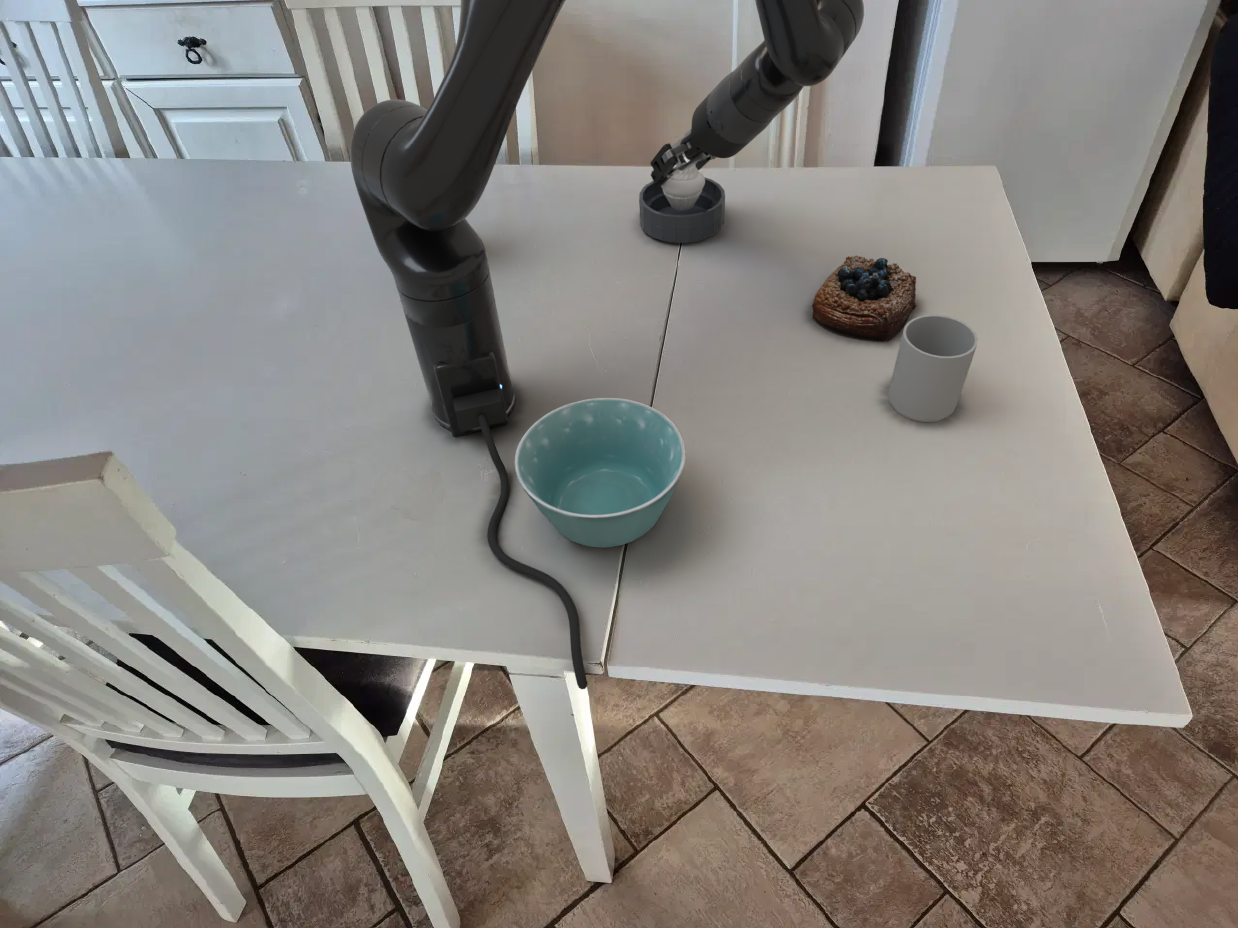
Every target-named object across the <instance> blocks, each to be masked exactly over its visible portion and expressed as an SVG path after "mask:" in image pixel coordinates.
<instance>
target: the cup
mask: <svg viewBox="0 0 1238 928" xmlns="http://www.w3.org/2000/svg"><path fill="white" fill-rule="evenodd" d="M978 339H979V338H978V337H977V333H976V332H975V330H973V328H972V327H971V326H970V325H968V324H967V323H965V322H963V321H961V320H959V319H957V318H955V317H951V316H949V315H948V316H947V315H942V314H926V315H925V314H924V315H920V316H916V317H913V318H912V319H910V320H909V321H907V322H906V324H905V326H904V327H903V329H902V335H901V338H900V342H899V347H898V350H897V351H898V352H897V355H896V360H895V362H894V367H893V371H892V375H891V379H890V384H889V388H888V393H887V397H888V401H889V403H890V404H891V407H892V408H893V409H894V410H895V411H896V412H897V413H898V414H899V415H901V416H903V417H904V418H906V419H909V420H911V421H915V422H921V423H933V422H939V421H941V420H944V419H946V418H947V417H949V416H950V415H952V414H953V413H954V411H955V410H956V408H957V405H958V403H959V400H960V397H961V394H962V392H963V388H964V385H965V382H966V379H967V377H968V373H969V371H970V368H971V364H972V362H973V358H974V355H975V352H976V349H977V347H978V341H979V340H978Z"/></svg>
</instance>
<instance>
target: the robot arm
mask: <svg viewBox="0 0 1238 928" xmlns="http://www.w3.org/2000/svg"><path fill="white" fill-rule="evenodd" d="M566 1H567V0H460V10H459V11H460V14H459V25H458V26H459V27H458V33H457V38H456V39H457V40H456V44H455V47H454V51H453V53H452V57H451V60H450V62H449V64H448V67H447V70H446V71H445V74H444V76H443V78H442V80H441V82H440V85H439V87H438V89H437V90H436V93H435V94H434V96H433V99H432V101H431V102H430V104H429V106H428V107H427V109H425V108H426V107H423V106H422V105H420V104H417V103H414V102H412V101H408V100H404V99H395V98H393V99H386V100H383V101H380V102H378V103H375V104H374V105H372V106H370V107H369V108H368V109H367V110H366V111H364V112H363V114H362V115H361V116H360V117H359V119H358V120H357V123H356V124H355V127H354V129H353V131H352V135H351V139H350V145H349V150H350V151H349V159H350V166H351V174H352V178H353V181H354V185H355V187H356V191H357V194H358V197H359V201H360V203H361V206H362V209H363V211H364V215H365V218H366V220H367V223H368V226H369V229H370V232H371V234H372V237H373V238H372V239H373V241H374V243H375V246H376V249H377V250H378V253H379V254H380V256H381V258H382V259H383V261H384V263H385V264H386V265H387V267H388V269H389V270H390V273H391V274H392V277H393V280H394V284H395V286H396V289H397V293H398V296H399V300H400V303H401V306H402V310H403V313H404V317H405V321H406V323H407V328H408V331H409V334H410V338H411V341H412V345H413V347H414V351H415V354H416V358H417V360H418V364H419V367H420V368H419V369H420V371H421V375H422V378H423V381H424V385H425V387H426V388H425V389H426V391H427V395H428V398H429V401H430V404H431V405H430V406H431V411H432V414H433V417H434V419H435V421H436V422H437V423H438V424H439V425H440V426H442V427H443V428H445V429H447V430H450V431H451V435H452V436H453V437H457V436H463V435H467V434H473V433H475V432H480V431H481V433H482V436H483V438H484V441H485V444H486V447H487V449H488V452H489V454H490V458H491V461H492V462H493V465H494V466H495V468H496V471H497V474H498V476H499V480H500V492H499V493H500V494H499V498H498V501H497V503H496V506H495V508H494V511H493V512H492V515H491V517H490V520H489V523H488V526H487V531H486V532H487V533H486V536H487V543H488V546H489V548H490V550H491V552H492V554H493V555H494V556H495V557H496V559H497V560H498V561H499V562H501V563H502V564H503V565H504V566H506V567H508V568H509V569H511V570H514V571H515V572H518V573H520V574H523V575H524V576H527V577H529V578H532V579H534V580H536V581H539V582H541V583H542V584H544V585H546V586H547V587H549V588H550V589H551V590H553V592H555V593H556V594H557V596H558V597H559V599H560V600H561V602H562V604H563V606H564V608H565V611H566V613H567V617H568V622H569V623H568V624H569V625H568V626H569V639H570V641H569V642H570V653H571V661H572V667H573V672H574V678H575V681H576V685H577V687H578V688H579V689H580V690H585V689H587V688H588V684H589V682H588V679H587V675H586V671H585V665H584V660H583V653H582V641H581V627H580V619H579V614H578V610H577V607H576V605H575V601H574V600H573V598H572V597H571V595H570V594H569V592H568V591H567V590H566V588H565V587H564V586H563V585H562V584H561V583H560V582H559V581H558V580H557V579H555V578H554V577H552V576H551V575H550V574H547V573H545V572H544V571H542V570H539V569H538V568H537V569H536V568H534V567H532V566H529V565H527V564H525V563H522V562H520V561H518V560H515V559H514V558H512V557H510V556H509V555H508V554H506V553H505V551H504V550H502V548H501V546H500V544H499V542H498V539H497V529H498V526H499V523H500V520H501V518H502V515H503V514H504V511H505V509H506V505H507V503H508V499H509V494H510V481H509V480H510V479H509V475H508V471H507V469H506V466H505V464H504V462H503V460H502V458H501V455H500V453H499V450H498V448H497V445H496V442H495V439H494V437H493V434H492V431H491V429H493V428H497V427H501V426H505V425H508V423H509V420H508V417H509V415H511V413H512V411H513V410H514V409H515V408H514V407H515V405H516V393H515V389H514V387H513V384H512V383H513V382H512V378H511V373H510V368H509V363H508V359H507V354H506V349H505V348H506V347H505V342H504V338H503V332H502V327H501V323H500V317H499V311H498V307H497V303H496V302H497V301H496V297H495V291H494V286H493V281H492V276H491V270H490V265H489V260H488V255H487V250H486V247H485V245H484V242H483V240H482V239H481V237H480V236H479V234H478V233H477V232H476V231H475V229H474V228H473V227H472V225H471V224H470V223H469V221H468V220H467V219H466V218H468V216H469V215H470V214H471V212H472V211H473V210H474V209H475V208H476V206H477V205H478V203H479V201H480V200H481V198H482V196H483V194H484V192H485V190H486V187H487V185H488V183H489V180H490V179H491V178H490V177H491V175H492V173H493V170H494V168H495V165H496V162H497V159H498V158H499V157H498V156H499V154H500V152H501V149H502V146H503V144H504V141H505V138H506V135H507V133H508V130H509V127H510V124H511V122H512V120H513V117H514V115H515V111H516V108H517V106H518V103H519V101H520V98H521V97H522V94H523V91H524V89H525V87H526V85H527V82H528V80H529V78H530V76H531V73H532V71H533V70H534V67H535V65H536V63H537V61H538V58H539V57H540V55H541V52H542V50H543V48H544V46H545V43H546V41H547V39H548V37H549V35H550V33H551V31H552V28H553V26H554V24H555V22H556V20H557V17H558V16H559V13H560V11H561V10H562V8H563V6H564V4H565V2H566ZM754 1H755V5H756V10H757V15H758V19H759V23H760V27H761V32H762V36H763V40H762V42H761V43H760V44H758V46H757V47H756V48H754V49H753V50H752V51H751V52H750V53H749V54H748V55H746V57H745V58H744V59H743V60H742V61H741V62H740V64H739V65H738V66H737V67H736V68H734V70H733V71H731V72H730V73H728V74H726V76H725V77H723V78H722V80H720V81H719V83H718V84H717V85H716V86H715V87H714V88H713V89H712V90H711V91H710V92H709V94H707V96H706V97H704V99H703V100H702V101H701V102H700V103H699V104H698V105H697V107H696V108H695V110H694V112H693V114H692V117H691V129H689V130H688V131H686V132H685V133H684V136H683V137H681V138H680V139H679V140H678V141H676V142H675V143H674V144H672V145H671V143H665V144H664V145H662V147H661V148H659V150H658V152H656V154H655V156H654V157H653V159H652V160H651V161H650V162H649V164H650V166H651V167H652V170H651V174H650V177H651V179H652V181H654V183H655V185H657V186H658V187H659V186H662V185H663V184H664V183H665V182H666V181H667V180H668V179H670V178H671V177H672V176H673V175H674V174H675V173H677V172H678V171H679V170H680V171H683V170H687V169H689V168H690V167H692V166H693V165H694V164H696V168H697V169H698V170H699V171H700V170H701V169H703V168H704V166H706V164H708V163H709V162H710V161H712V160H715V159H728V158H732V157H734V156H736V155H737V154H738V153H740V152H741V151H742V149H744V148H745V147H747V146H748V145H749V144H750V143H751V142H752V141H753V140H754V139H755V138H757V136H759V135H760V134H761V133H762V132H763V131H764V130H765V129H767V128H768V126H769V125H770V124H771V122H772V121H773V120H774V119H775V118H776V117H777V116H778V115H780V113H781V112H783V111H784V110H785V109H786V108H787V107H788V106H789V105H790V104H791V103H792V102H793V101H794V100H795V99H796V98H797V97H798V96H799V94H800V93H801V91H802V90H803V89H804V87H812V86H816V85H818V84H821V83H822V82H824V81H825V80H826V79H828V77H829V76H831V74H832V73H833V72H834V70H835V69H836V68H837V66H838V65H839V64H840V62H841V60H842V59H843V57H844V56H845V54H846V53H847V52H848V50H849V48H850V47H851V45H852V44H853V42H855V40H856V38H857V36H858V35H859V33H860V31H861V29H862V26H863V24H864V17H865V5H864V0H754ZM684 157H686V158H687V159H688V160H690V161H689V162H686V161H685V159H684ZM675 165H676V167H674V166H675ZM673 167H674V168H673Z"/></svg>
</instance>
